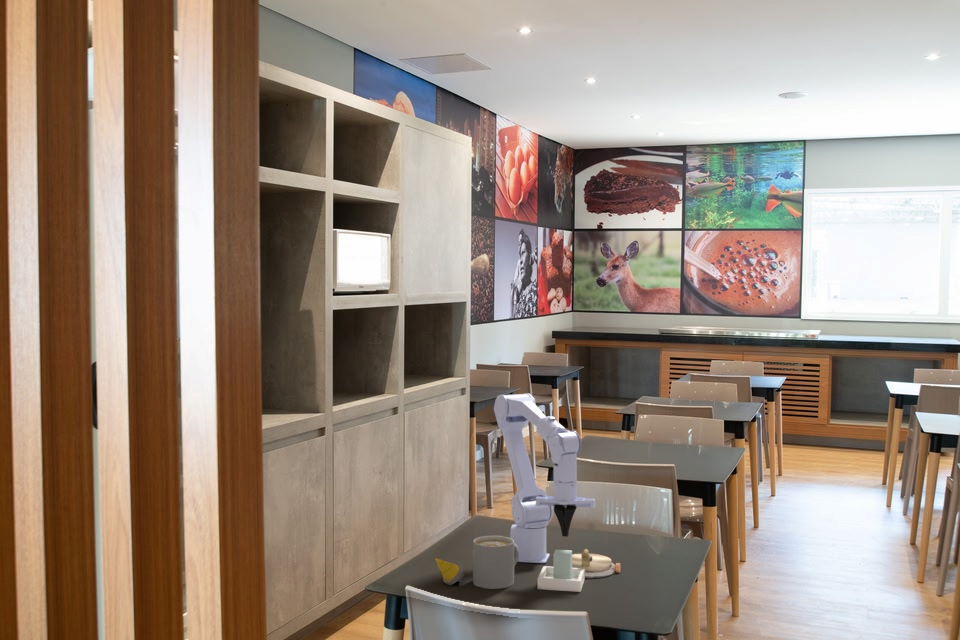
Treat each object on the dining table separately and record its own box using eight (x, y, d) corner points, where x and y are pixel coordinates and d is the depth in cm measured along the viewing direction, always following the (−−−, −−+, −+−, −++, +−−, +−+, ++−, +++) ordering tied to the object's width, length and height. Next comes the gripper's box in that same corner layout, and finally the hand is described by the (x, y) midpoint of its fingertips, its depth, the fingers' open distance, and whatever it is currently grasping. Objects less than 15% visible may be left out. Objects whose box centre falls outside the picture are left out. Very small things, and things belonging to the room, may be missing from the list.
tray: (537, 589, 205) (537, 578, 205) (543, 576, 215) (543, 566, 215) (580, 591, 203) (580, 581, 203) (584, 578, 213) (584, 568, 213)
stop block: (553, 583, 207) (553, 554, 207) (555, 578, 211) (555, 549, 211) (570, 584, 207) (570, 554, 207) (572, 579, 211) (572, 550, 210)
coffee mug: (488, 591, 204) (488, 548, 204) (465, 580, 212) (464, 539, 212) (533, 581, 211) (533, 540, 211) (509, 571, 219) (509, 531, 219)
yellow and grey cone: (467, 588, 208) (441, 564, 204) (450, 594, 210) (424, 570, 206) (471, 569, 212) (445, 545, 208) (454, 575, 215) (428, 552, 211)
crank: (566, 556, 228) (566, 537, 228) (613, 559, 225) (613, 540, 225) (560, 571, 215) (560, 551, 215) (609, 574, 213) (609, 553, 212)
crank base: (556, 576, 215) (556, 568, 215) (563, 560, 229) (563, 553, 229) (618, 579, 212) (618, 572, 212) (621, 563, 226) (621, 556, 226)
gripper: (533, 482, 214) (533, 538, 214) (593, 484, 211) (593, 541, 211) (537, 477, 221) (538, 531, 221) (595, 479, 218) (595, 533, 218)
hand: (565, 535), depth 217 cm, fingers closed
